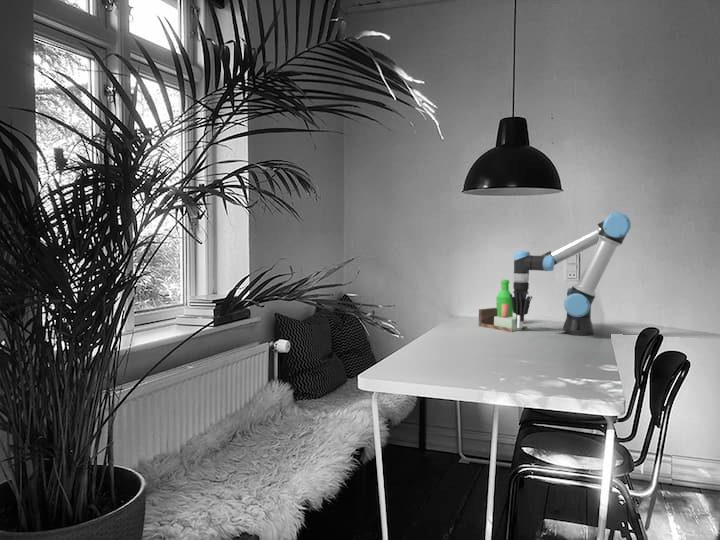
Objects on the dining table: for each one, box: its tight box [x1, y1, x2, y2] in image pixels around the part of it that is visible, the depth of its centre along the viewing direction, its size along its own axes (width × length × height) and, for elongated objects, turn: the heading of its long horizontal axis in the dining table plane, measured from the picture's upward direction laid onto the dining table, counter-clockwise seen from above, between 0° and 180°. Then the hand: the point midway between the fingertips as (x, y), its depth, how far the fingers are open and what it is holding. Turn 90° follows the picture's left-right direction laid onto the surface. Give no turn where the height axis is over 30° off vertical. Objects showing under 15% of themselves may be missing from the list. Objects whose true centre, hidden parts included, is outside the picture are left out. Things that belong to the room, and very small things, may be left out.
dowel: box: [501, 304, 508, 318], centre depth 333 cm, size 3×3×12 cm
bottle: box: [495, 279, 514, 317], centre depth 353 cm, size 9×9×25 cm
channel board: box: [478, 307, 529, 333], centre depth 334 cm, size 23×12×10 cm, turn 35°
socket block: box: [494, 316, 523, 332], centre depth 331 cm, size 12×8×6 cm, turn 35°
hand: (519, 327), depth 325 cm, fingers closed
